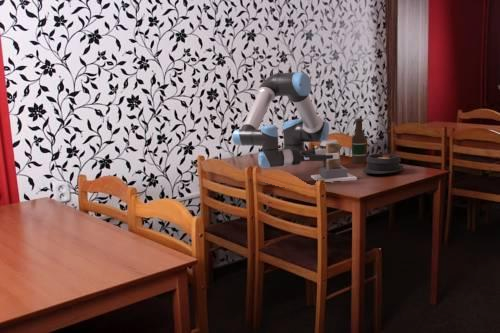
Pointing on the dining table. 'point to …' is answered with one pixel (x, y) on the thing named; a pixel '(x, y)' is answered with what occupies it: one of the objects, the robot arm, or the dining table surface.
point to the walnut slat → (333, 162)
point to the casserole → (383, 164)
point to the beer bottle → (358, 144)
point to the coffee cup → (323, 146)
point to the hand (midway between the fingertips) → (333, 153)
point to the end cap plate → (334, 175)
